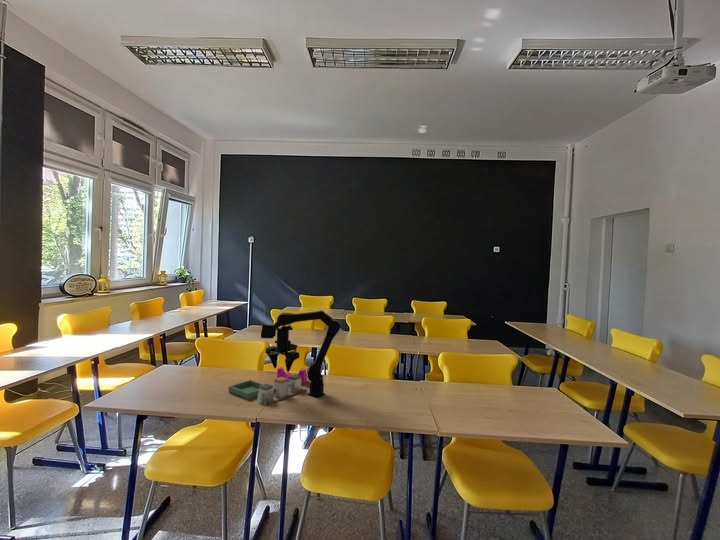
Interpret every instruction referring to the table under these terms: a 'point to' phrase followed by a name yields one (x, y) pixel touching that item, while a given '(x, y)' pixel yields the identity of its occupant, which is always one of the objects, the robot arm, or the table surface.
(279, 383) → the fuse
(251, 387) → the tray
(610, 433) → the table surface
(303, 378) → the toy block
